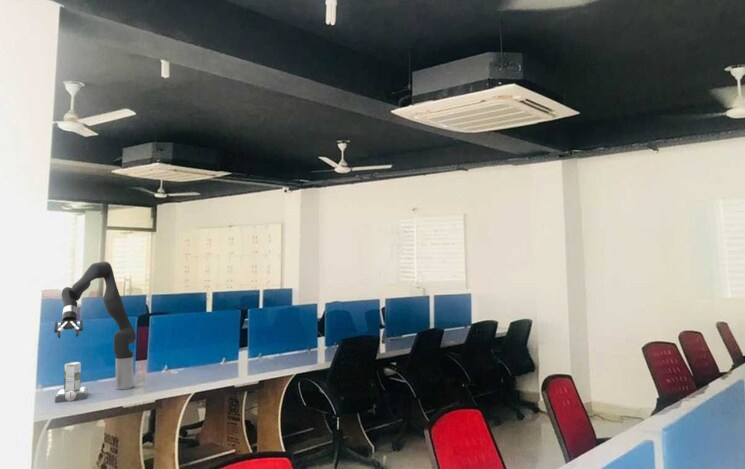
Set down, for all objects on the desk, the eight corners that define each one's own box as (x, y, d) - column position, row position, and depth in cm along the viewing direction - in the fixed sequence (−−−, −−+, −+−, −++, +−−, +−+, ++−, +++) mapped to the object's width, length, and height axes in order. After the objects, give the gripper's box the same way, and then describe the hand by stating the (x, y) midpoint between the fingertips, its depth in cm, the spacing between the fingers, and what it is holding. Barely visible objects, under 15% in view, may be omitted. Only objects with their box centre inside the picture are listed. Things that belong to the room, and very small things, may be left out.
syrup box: (70, 389, 291) (70, 362, 292) (81, 388, 290) (81, 361, 291) (63, 391, 285) (63, 364, 286) (74, 391, 285) (74, 363, 285)
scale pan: (60, 391, 290) (60, 389, 290) (85, 388, 295) (85, 386, 295) (57, 395, 279) (57, 394, 279) (83, 392, 284) (83, 391, 285)
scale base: (58, 396, 290) (58, 387, 291) (87, 393, 296) (87, 384, 297) (55, 402, 277) (55, 393, 277) (85, 399, 283) (85, 389, 283)
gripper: (55, 311, 310) (53, 333, 299) (83, 309, 316) (82, 331, 305) (56, 319, 315) (54, 341, 304) (83, 318, 321) (82, 339, 310)
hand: (68, 336), depth 305 cm, fingers open, 8 cm apart
